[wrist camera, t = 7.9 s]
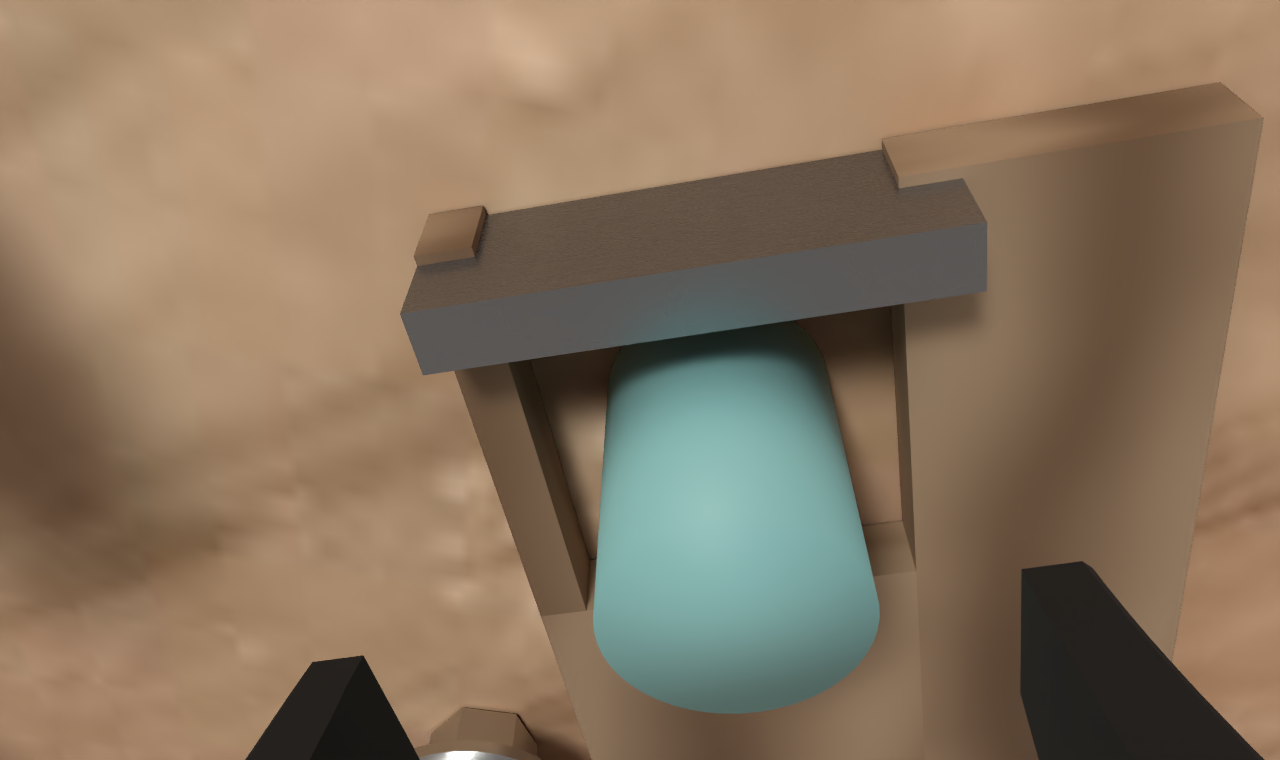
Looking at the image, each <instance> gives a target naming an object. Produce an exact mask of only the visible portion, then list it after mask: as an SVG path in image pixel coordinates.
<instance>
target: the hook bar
mask: <svg viewBox="0 0 1280 760" xmlns="http://www.w3.org/2000/svg"><path fill="white" fill-rule="evenodd" d="M986 291H987V221H986V219H985V217H984V215H983V213H982V212H981V210H980V208H979V206H978V204H977V203H976V201H975V199H974V197H973V195H972V194H971V192H970V190H969V188H968V186H967V185H966V183H965V181H964V179H963V178H960V179H954V180H948V181H942V182H935V183H929V184H923V185H917V186H911V187H904V188H899V187H898V185H897V183H896V180H895V178H894V176H893V173H892V171H891V169H890V166H889V164H888V162H887V159H886V157H885V155H884V153H883V150H878V151H872V152H866V153H860V154H854V155H848V156H842V157H836V158H830V159H824V160H818V161H812V162H806V163H800V164H794V165H788V166H782V167H776V168H769V169H763V170H757V171H751V172H745V173H739V174H733V175H727V176H721V177H715V178H709V179H703V180H697V181H691V182H685V183H679V184H673V185H667V186H661V187H655V188H649V189H643V190H637V191H631V192H625V193H619V194H613V195H606V196H600V197H594V198H588V199H582V200H576V201H570V202H564V203H558V204H552V205H546V206H540V207H534V208H528V209H522V210H516V211H510V212H504V213H498V214H492V215H486V218H485V222H484V225H483V229H482V233H481V236H480V240H479V243H478V247H477V251H476V254H475V257H470V258H464V259H458V260H452V261H445V262H439V263H433V264H427V265H421V266H417V268H416V271H415V274H414V277H413V279H412V282H411V285H410V288H409V291H408V293H407V296H406V299H405V302H404V304H403V307H402V310H401V313H400V315H401V318H402V320H403V323H404V326H405V328H406V331H407V334H408V336H409V339H410V342H411V344H412V347H413V350H414V352H415V355H416V358H417V360H418V363H419V366H420V368H421V371H422V374H423V375H428V374H435V373H441V372H448V371H455V370H462V369H468V368H475V367H482V366H489V365H495V364H502V363H509V362H515V361H522V360H529V359H536V358H542V357H549V356H556V355H562V354H569V353H576V352H583V351H589V350H596V349H603V348H609V347H616V346H623V345H630V344H636V343H643V342H650V341H656V340H663V339H670V338H677V337H683V336H690V335H697V334H703V333H710V332H717V331H724V330H730V329H737V328H744V327H751V326H757V325H764V324H771V323H777V322H784V321H791V320H798V319H804V318H811V317H818V316H824V315H831V314H838V313H845V312H851V311H858V310H865V309H871V308H878V307H885V306H892V305H898V304H905V303H912V302H918V301H925V300H932V299H939V298H945V297H952V296H959V295H965V294H972V293H979V292H986Z"/></svg>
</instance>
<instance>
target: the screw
mask: <svg viewBox="0 0 1280 760" xmlns="http://www.w3.org/2000/svg"><path fill="white" fill-rule="evenodd" d="M537 748H538V746H537V744H536V743H535V741H534V740H533V738H532V737H531V735H530V734H529V733H528V731H527V730H526V728H525V727H524V725H523V724H522V722H521V721H520V719H519V718H518V716H517V715H516V714H512V713H504V712H496V711H487V710H479V709H471V708H462V709H460V710H459V711H458V712H457V713H456V714H454V715H453V716H452V717H451V718H450V719H448V720H447V721H446V722H445V723H443V724H442V725H441V726H440V727H439V728H437V729H436V730H435V731H434V732H433V733H432V734H431V738H430V743H429V745H425V746H422V747H418V748H415V749H414V750H415V751H416V753H417V755H418V757H419V759H420V760H542V759H541V758H539V757H537Z"/></svg>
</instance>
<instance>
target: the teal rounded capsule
mask: <svg viewBox="0 0 1280 760" xmlns="http://www.w3.org/2000/svg"><path fill="white" fill-rule="evenodd" d="M879 619H880V611H879V601H878V597H877V592H876V588H875V583H874V579H873V574H872V570H871V565H870V561H869V557H868V552H867V548H866V543H865V539H864V534H863V530H862V525H861V521H860V517H859V512H858V508H857V503H856V499H855V494H854V490H853V485H852V481H851V477H850V472H849V468H848V463H847V459H846V454H845V450H844V445H843V441H842V437H841V432H840V428H839V423H838V419H837V414H836V410H835V405H834V401H833V397H832V392H831V388H830V383H829V379H828V374H827V370H826V366H825V362H824V360H823V357H822V355H821V352H820V350H819V349H818V347H817V346H816V344H815V342H814V341H813V340H812V338H811V337H810V336H809V335H808V334H807V333H806V331H805V330H803V329H802V328H801V327H800V326H799V325H798V324H797V323H795V322H794V321H793V320H791V321H784V322H777V323H771V324H764V325H757V326H751V327H744V328H737V329H730V330H724V331H717V332H710V333H703V334H697V335H690V336H683V337H677V338H670V339H663V340H656V341H650V342H643V343H636V344H630V345H623V346H622V348H621V349H620V351H619V352H618V354H617V356H616V358H615V361H614V363H613V365H612V368H611V372H610V376H609V383H608V394H607V409H606V425H605V440H604V456H603V471H602V487H601V502H600V517H599V533H598V548H597V564H596V579H595V595H594V610H593V627H594V634H595V638H596V641H597V645H598V647H599V649H600V651H601V653H602V655H603V657H604V658H605V659H606V661H607V662H608V664H609V665H610V667H611V668H612V669H613V670H614V671H615V672H616V673H617V674H618V675H619V676H620V677H621V678H623V679H624V680H625V681H626V682H628V683H629V684H630V685H631V686H633V687H635V688H636V689H638V690H639V691H641V692H643V693H644V694H646V695H649V696H651V697H653V698H655V699H657V700H659V701H662V702H665V703H668V704H671V705H673V706H677V707H681V708H685V709H689V710H695V711H701V712H708V713H721V714H742V713H753V712H762V711H767V710H773V709H778V708H782V707H785V706H789V705H793V704H795V703H798V702H801V701H804V700H807V699H809V698H811V697H813V696H815V695H818V694H820V693H822V692H824V691H825V690H827V689H829V688H830V687H832V686H834V685H835V684H837V683H838V682H839V681H841V680H842V679H843V678H845V677H846V676H847V675H848V674H849V673H850V672H851V671H852V670H854V669H855V668H856V667H857V666H858V665H859V663H860V662H861V661H862V659H863V658H864V657H865V656H866V654H867V653H868V651H869V649H870V647H871V646H872V644H873V642H874V639H875V636H876V633H877V631H878V625H879Z"/></svg>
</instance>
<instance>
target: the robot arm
mask: <svg viewBox="0 0 1280 760" xmlns="http://www.w3.org/2000/svg"><path fill="white" fill-rule="evenodd" d="M1020 694H1021V698H1022V701H1023V705H1024V709H1025V712H1026V716H1027V719H1028V723H1029V727H1030V730H1031V734H1032V738H1033V741H1034V745H1035V748H1036V752H1037V755H1038V759H1039V760H1264V759H1263V758H1262V757H1261V756H1260V755H1259V754H1258V753H1257V752H1256V751H1255V750H1254V749H1253V748H1252V747H1251V746H1250V745H1249V744H1248V743H1247V742H1246V741H1245V740H1244V739H1243V738H1242V737H1241V736H1240V734H1239V733H1238V732H1237V731H1236V730H1235V729H1234V728H1233V727H1232V726H1231V725H1230V724H1229V723H1228V722H1227V721H1226V720H1225V719H1224V718H1223V717H1222V716H1221V715H1220V714H1219V713H1218V712H1217V711H1216V710H1215V709H1214V707H1213V706H1212V705H1211V704H1210V703H1209V702H1208V701H1207V700H1206V699H1205V698H1204V697H1203V696H1202V695H1201V694H1200V693H1199V692H1198V691H1197V690H1196V689H1195V687H1194V686H1193V685H1192V684H1191V683H1190V682H1189V681H1188V680H1187V679H1186V678H1185V677H1184V676H1183V674H1182V673H1181V672H1180V671H1179V670H1178V669H1177V668H1176V667H1175V666H1174V664H1173V663H1172V662H1171V661H1170V660H1169V659H1168V658H1167V656H1166V655H1165V654H1164V653H1163V652H1162V651H1161V650H1160V649H1159V647H1158V646H1157V645H1156V644H1155V643H1154V642H1153V641H1152V640H1151V638H1150V637H1149V636H1148V635H1147V634H1146V633H1145V631H1144V630H1143V629H1142V628H1141V627H1140V626H1139V624H1138V623H1137V622H1136V621H1135V620H1134V619H1133V617H1132V616H1131V615H1130V614H1129V613H1128V611H1127V610H1126V609H1125V608H1124V607H1123V605H1122V604H1121V603H1120V602H1119V600H1118V599H1117V598H1116V597H1115V595H1114V594H1113V593H1112V592H1111V590H1110V589H1109V588H1108V587H1107V586H1106V584H1105V583H1104V582H1103V580H1102V579H1101V578H1100V577H1099V575H1098V574H1097V573H1096V571H1095V570H1094V569H1093V568H1092V567H1091V566H1089V565H1088V564H1086V563H1085V562H1083V561H1079V562H1071V563H1064V564H1056V565H1049V566H1041V567H1033V568H1026V569H1021V665H1020ZM246 760H420V759H419V757H418V755H417V753H416V751H415V750H414V748H413V746H412V744H411V742H410V740H409V739H408V737H407V735H406V733H405V731H404V729H403V728H402V726H401V724H400V722H399V720H398V718H397V716H396V715H395V713H394V711H393V709H392V707H391V705H390V704H389V702H388V700H387V698H386V696H385V694H384V693H383V691H382V689H381V687H380V685H379V683H378V682H377V680H376V678H375V676H374V674H373V672H372V671H371V669H370V667H369V665H368V663H367V661H366V659H365V658H364V656H356V657H348V658H340V659H333V660H325V661H318V662H312V664H311V665H310V666H309V668H308V669H307V671H306V672H305V673H304V675H303V676H302V678H301V679H300V680H299V682H298V683H297V685H296V686H295V688H294V689H293V690H292V692H291V693H290V695H289V696H288V698H287V699H286V701H285V702H284V704H283V705H282V707H281V708H280V709H279V711H278V712H277V714H276V715H275V717H274V718H273V720H272V721H271V723H270V724H269V726H268V727H267V729H266V730H265V732H264V733H263V735H262V736H261V738H260V739H259V740H258V742H257V743H256V745H255V746H254V748H253V749H252V751H251V752H250V754H249V755H248V757H247V758H246Z"/></svg>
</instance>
